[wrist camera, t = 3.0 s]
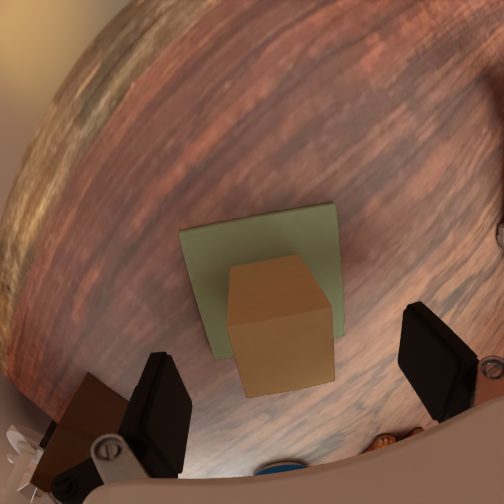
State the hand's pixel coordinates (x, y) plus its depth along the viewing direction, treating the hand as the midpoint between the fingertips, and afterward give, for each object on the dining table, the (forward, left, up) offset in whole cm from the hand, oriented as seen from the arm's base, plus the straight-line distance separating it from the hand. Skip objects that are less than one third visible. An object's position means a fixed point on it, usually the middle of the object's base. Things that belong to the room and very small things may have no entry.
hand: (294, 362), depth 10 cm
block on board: (0, 0, -8) cm, 8 cm away
